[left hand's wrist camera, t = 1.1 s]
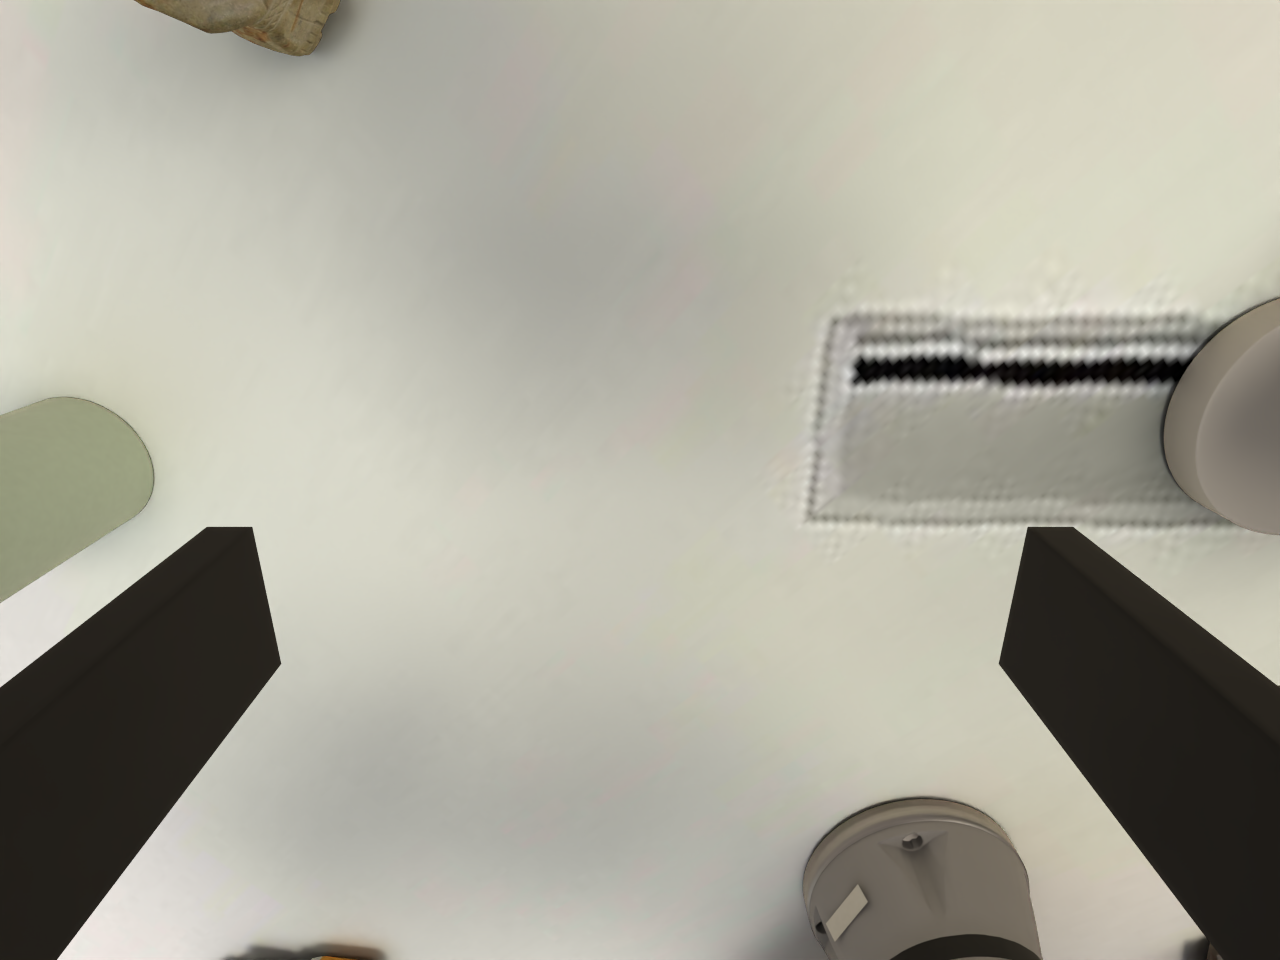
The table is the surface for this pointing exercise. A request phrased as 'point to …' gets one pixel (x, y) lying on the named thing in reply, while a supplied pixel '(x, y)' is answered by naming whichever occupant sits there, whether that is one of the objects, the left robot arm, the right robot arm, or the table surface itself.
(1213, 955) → the toy
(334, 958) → the spray gun
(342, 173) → the table surface
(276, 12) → the sculpture
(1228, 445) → the bust sculpture
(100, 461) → the bottle
